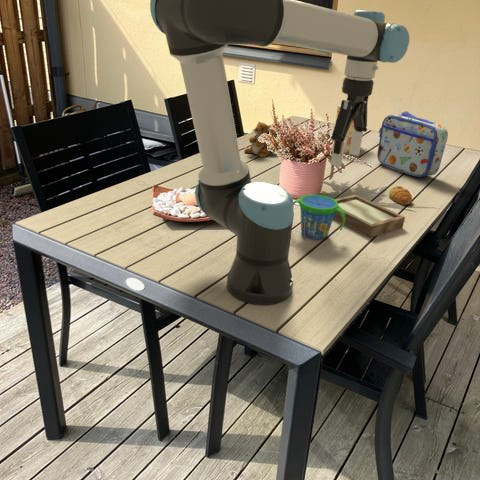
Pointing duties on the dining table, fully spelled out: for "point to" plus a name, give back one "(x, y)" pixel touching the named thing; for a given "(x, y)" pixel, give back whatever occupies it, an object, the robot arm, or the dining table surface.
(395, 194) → the pastry
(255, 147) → the stuffed squirrel
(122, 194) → the dining table surface
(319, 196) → the snack cup
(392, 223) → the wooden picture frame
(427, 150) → the lunch box
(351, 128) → the coffeecake box
